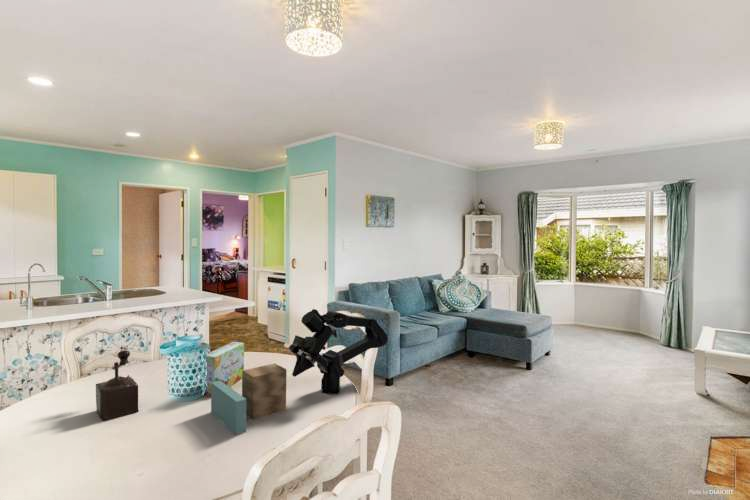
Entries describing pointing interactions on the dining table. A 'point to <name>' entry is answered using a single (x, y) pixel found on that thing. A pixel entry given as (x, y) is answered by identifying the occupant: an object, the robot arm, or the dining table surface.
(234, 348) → the snack box
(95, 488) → the dining table surface
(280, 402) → the walnut block
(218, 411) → the teal board
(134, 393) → the pepper mill
